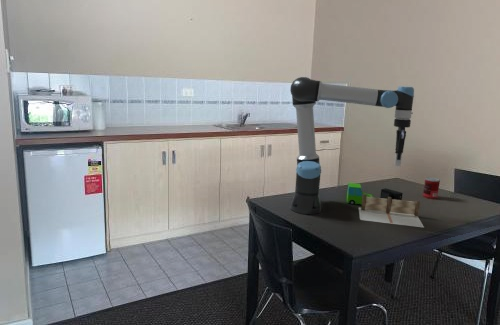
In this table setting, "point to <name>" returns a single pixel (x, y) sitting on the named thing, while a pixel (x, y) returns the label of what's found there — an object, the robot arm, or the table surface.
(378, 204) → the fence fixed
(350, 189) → the toy car
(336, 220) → the table surface
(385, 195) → the digital camera
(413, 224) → the card
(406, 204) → the fence gate
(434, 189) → the canned food
